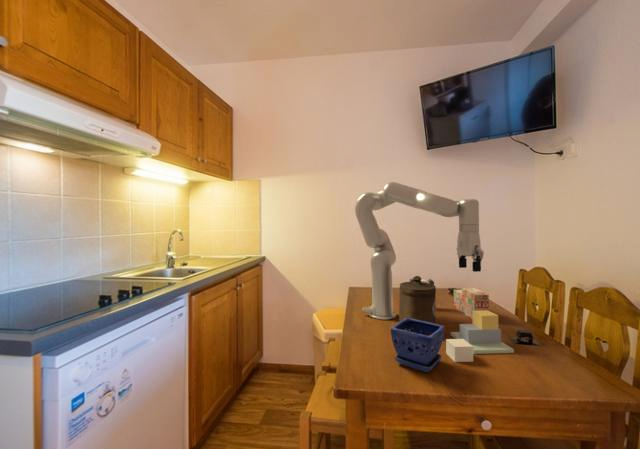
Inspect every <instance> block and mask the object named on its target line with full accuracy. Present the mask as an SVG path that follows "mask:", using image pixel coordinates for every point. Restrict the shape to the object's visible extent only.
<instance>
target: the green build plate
mask: <svg viewBox="0 0 640 449" xmlns="http://www.w3.org/2000/svg"><path fill="white" fill-rule="evenodd" d="M450 336H451V337H452V338H453V339H461V338H460V331H451V332H450ZM471 345H472V346H473V355H479V354H480V355H483V354H484V355H485V354H513V353H515V350H514V348H512V347H511V346H509V345H507V344H506V343H505V342H504V341H501V343H489V344H471Z"/></svg>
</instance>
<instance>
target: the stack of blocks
mask: <svg viewBox="0 0 640 449" xmlns="http://www.w3.org/2000/svg"><path fill="white" fill-rule="evenodd" d="M452 291H453V308H455V309H456V310H458V312H460V313H462V314H464V315H465V316H467V317H468V318H470V320H473V317H472V311H480V310H488V311H489V306H490V305H489V303H490V301H489V298H490V297H489V293H485V291H483V290H480V289H477V288H474V287H461V289H453V290H452Z"/></svg>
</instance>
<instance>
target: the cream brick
mask: <svg viewBox="0 0 640 449" xmlns="http://www.w3.org/2000/svg"><path fill="white" fill-rule="evenodd" d="M445 354H446V355H447V356H448V357H449V358H450V359H451V360H452V361H453V362H454V363H463V362H464V363H465V362H467V363H469V362H471V363H472V362H474V354H473V346H472V345H471V344H469V343H468V342H467V341H465V340H464V339H455V338H449V339H448V338H446V339H445Z"/></svg>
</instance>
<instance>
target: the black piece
mask: <svg viewBox="0 0 640 449" xmlns="http://www.w3.org/2000/svg"><path fill="white" fill-rule="evenodd" d="M515 335H516V338H515V337H512V338H511V337H507V339H508V340H509V342H511V343H512V344H513V345H520V346H521V345H522V346H524V345H525V346H537V347H543V345H542V344H540V343H539V342H538V341H537V340H536V339H534V335H533V333H532V332H531V330H528V329H517V331H516V333H515Z"/></svg>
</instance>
